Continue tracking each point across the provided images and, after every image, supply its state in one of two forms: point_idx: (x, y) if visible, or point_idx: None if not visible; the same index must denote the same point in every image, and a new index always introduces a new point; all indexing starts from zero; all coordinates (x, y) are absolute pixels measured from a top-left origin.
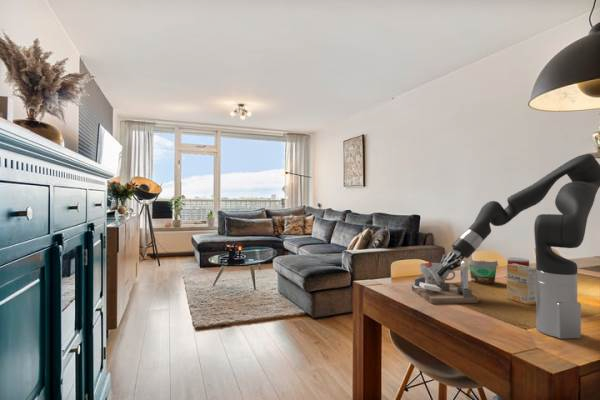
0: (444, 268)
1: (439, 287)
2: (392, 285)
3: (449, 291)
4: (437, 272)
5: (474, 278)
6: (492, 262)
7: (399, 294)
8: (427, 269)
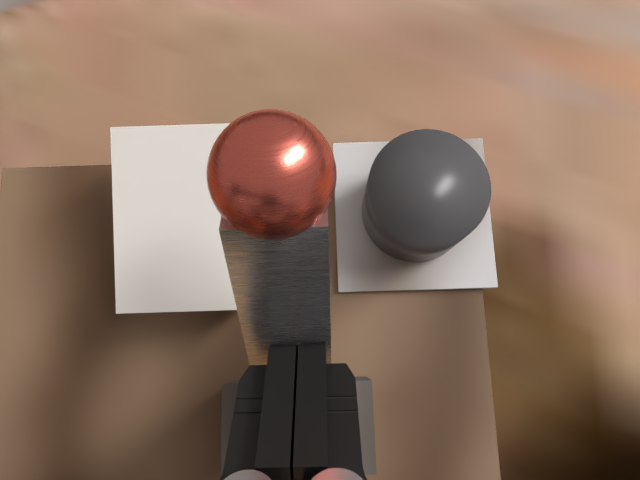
0: (223, 477)
1: (143, 310)
2: (596, 47)
3: (196, 441)
4: (274, 353)
5: None
6: None
7: (304, 28)
8: None
